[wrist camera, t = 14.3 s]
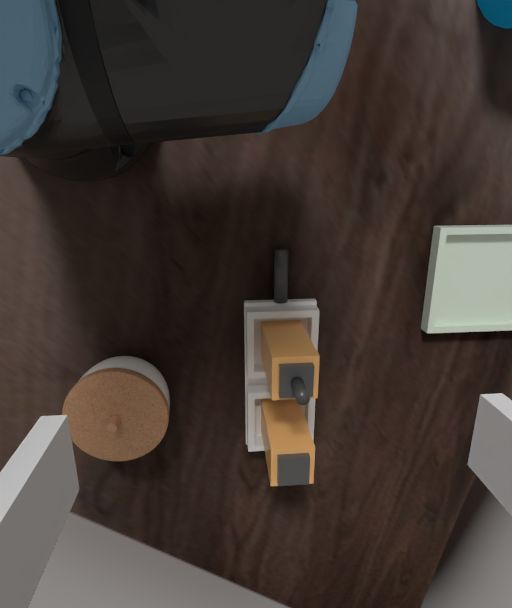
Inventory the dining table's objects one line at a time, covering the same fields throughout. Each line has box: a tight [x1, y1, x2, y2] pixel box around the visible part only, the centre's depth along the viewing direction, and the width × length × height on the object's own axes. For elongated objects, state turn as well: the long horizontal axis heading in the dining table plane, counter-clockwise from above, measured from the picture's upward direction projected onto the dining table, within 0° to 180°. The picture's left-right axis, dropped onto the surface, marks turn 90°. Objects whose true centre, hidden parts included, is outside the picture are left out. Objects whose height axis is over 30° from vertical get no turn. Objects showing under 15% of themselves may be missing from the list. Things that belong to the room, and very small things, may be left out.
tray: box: [421, 225, 512, 333], centre depth 49 cm, size 13×13×2 cm
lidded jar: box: [62, 356, 170, 461], centre depth 46 cm, size 11×11×9 cm
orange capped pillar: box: [261, 398, 315, 486], centre depth 47 cm, size 4×4×11 cm
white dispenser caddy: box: [244, 249, 320, 452], centre depth 43 cm, size 25×8×15 cm, turn 0°
